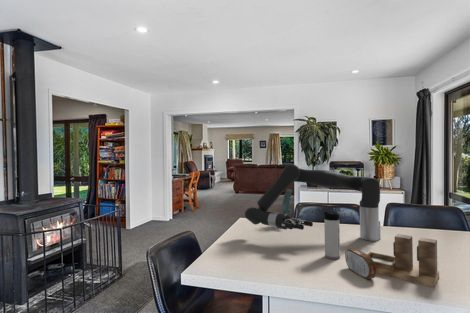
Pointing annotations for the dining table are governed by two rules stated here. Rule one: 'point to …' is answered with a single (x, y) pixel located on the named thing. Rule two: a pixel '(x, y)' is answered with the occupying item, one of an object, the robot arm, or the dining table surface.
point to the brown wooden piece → (409, 261)
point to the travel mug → (332, 235)
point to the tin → (360, 263)
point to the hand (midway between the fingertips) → (308, 225)
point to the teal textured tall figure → (286, 202)
